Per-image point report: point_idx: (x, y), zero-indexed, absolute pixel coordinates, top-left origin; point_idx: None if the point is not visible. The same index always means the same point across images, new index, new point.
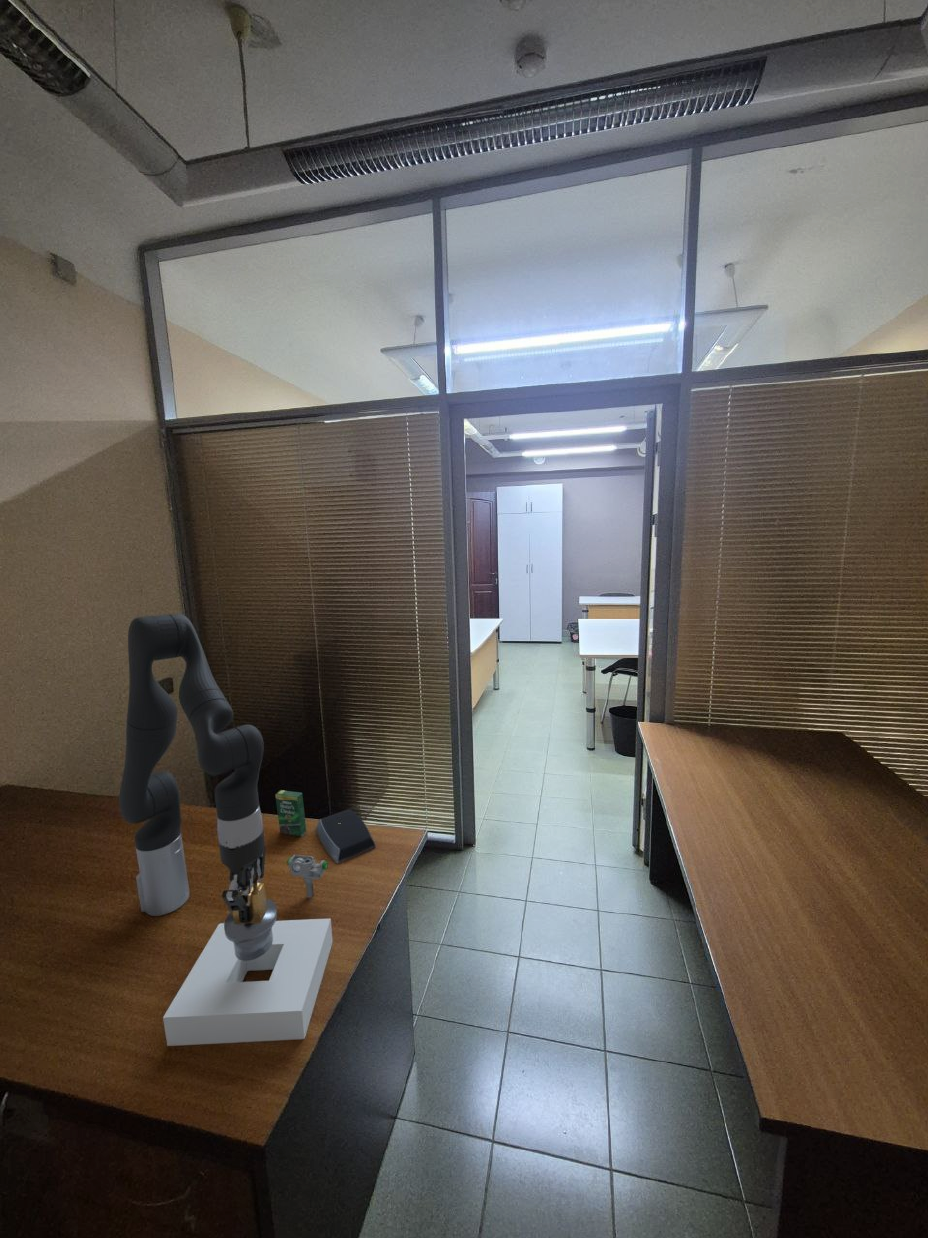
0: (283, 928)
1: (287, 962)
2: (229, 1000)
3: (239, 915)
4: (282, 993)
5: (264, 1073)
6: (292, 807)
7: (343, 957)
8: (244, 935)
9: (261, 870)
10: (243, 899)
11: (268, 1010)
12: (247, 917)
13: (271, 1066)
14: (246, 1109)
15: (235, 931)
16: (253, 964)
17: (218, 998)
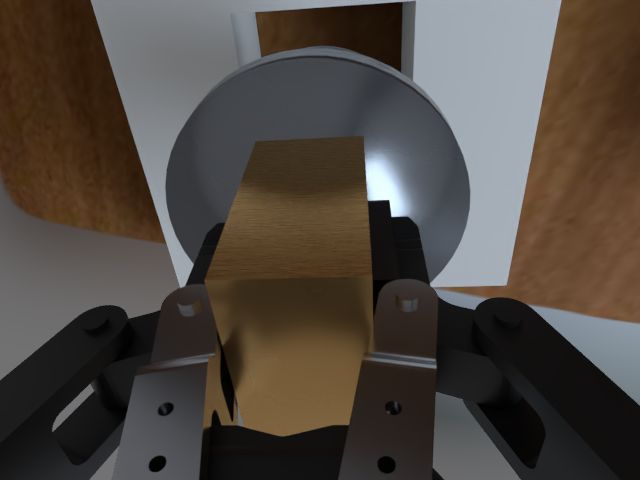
0: (490, 140)
1: None
2: (166, 71)
3: (196, 262)
4: None
5: (116, 179)
6: None
7: None
8: (183, 238)
9: (496, 444)
10: (92, 471)
11: (162, 215)
12: None
13: (134, 189)
14: (43, 171)
15: (202, 176)
16: (404, 14)
17: (163, 21)
